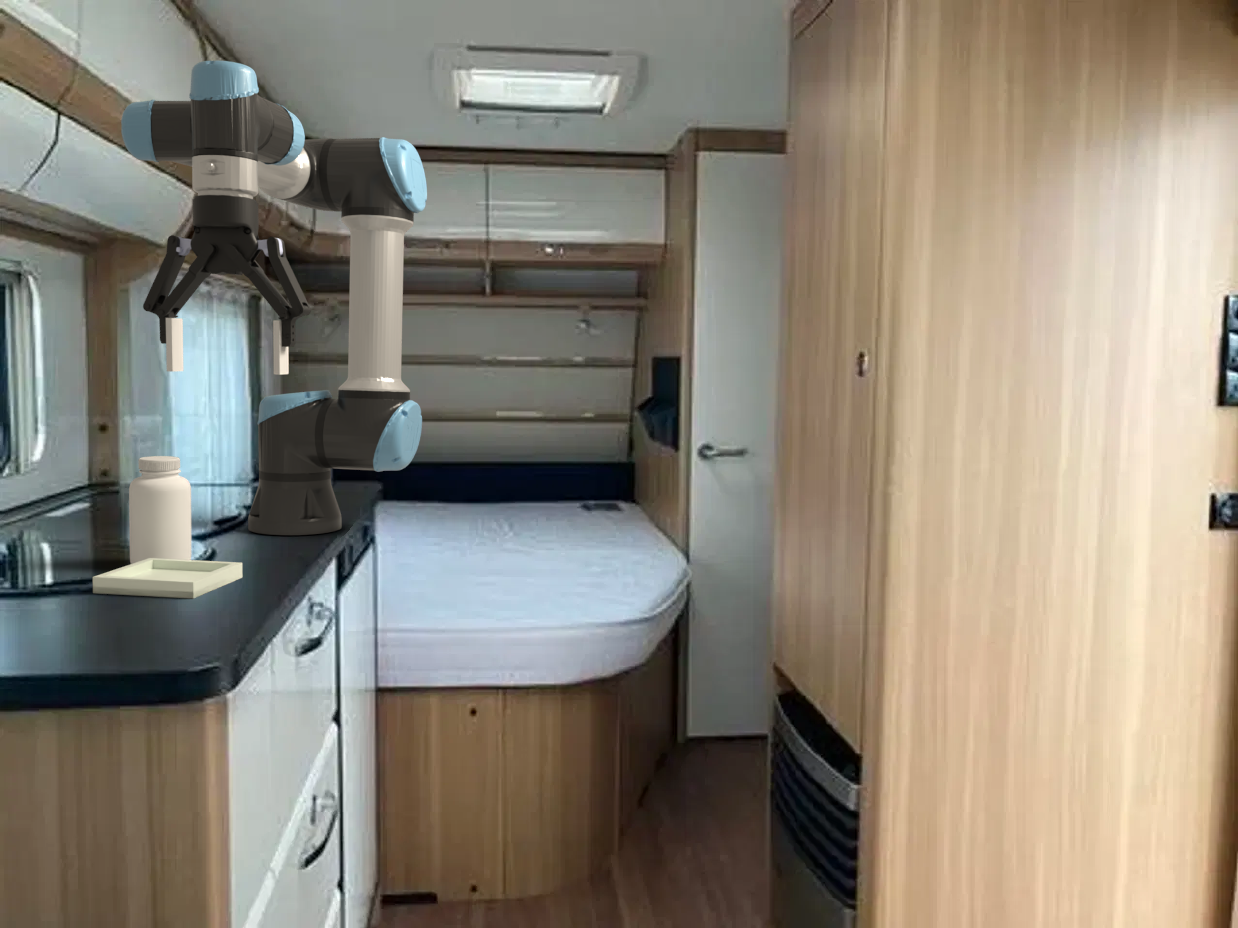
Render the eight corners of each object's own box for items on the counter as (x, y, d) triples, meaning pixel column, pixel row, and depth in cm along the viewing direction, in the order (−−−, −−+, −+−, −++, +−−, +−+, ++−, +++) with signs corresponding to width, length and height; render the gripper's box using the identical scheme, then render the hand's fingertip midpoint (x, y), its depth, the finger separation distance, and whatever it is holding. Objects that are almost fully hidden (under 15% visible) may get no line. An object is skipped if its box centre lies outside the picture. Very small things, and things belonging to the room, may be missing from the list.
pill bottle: (141, 572, 148) (139, 461, 147) (122, 563, 154) (120, 456, 153) (200, 566, 154) (199, 458, 152) (179, 557, 160) (178, 454, 158)
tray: (150, 572, 148) (149, 557, 148) (242, 577, 147) (242, 562, 147) (93, 592, 136) (92, 576, 135) (193, 598, 134) (193, 582, 134)
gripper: (110, 191, 131) (114, 370, 134) (313, 193, 129) (314, 376, 131) (143, 199, 139) (147, 369, 141) (336, 202, 136) (337, 374, 138)
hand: (227, 373), depth 136 cm, fingers open, 13 cm apart
